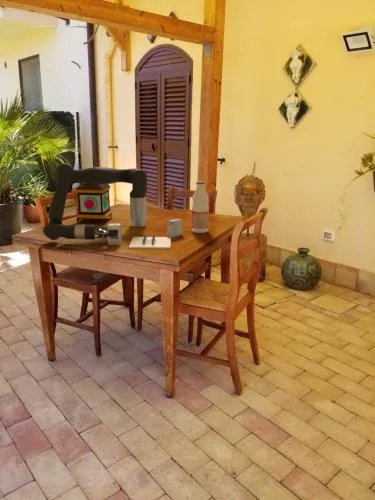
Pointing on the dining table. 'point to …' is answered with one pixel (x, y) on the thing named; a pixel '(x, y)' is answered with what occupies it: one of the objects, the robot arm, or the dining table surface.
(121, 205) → the dining table surface
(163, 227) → the dining table surface
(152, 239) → the pin tray
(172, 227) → the medicine box
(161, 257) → the dining table surface
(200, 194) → the fruit juice
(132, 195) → the robot arm
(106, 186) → the decorative lantern
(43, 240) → the dining table surface
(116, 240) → the drive
